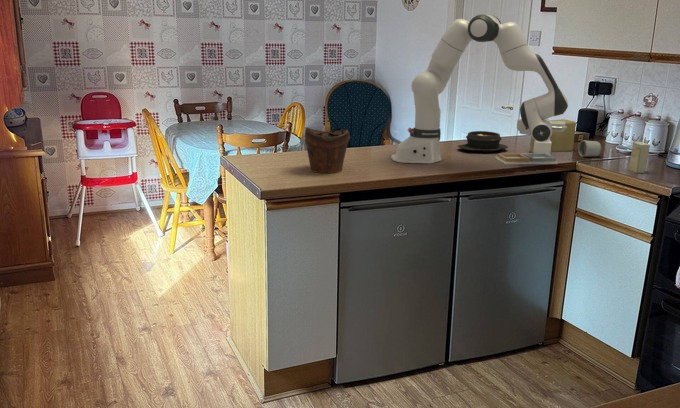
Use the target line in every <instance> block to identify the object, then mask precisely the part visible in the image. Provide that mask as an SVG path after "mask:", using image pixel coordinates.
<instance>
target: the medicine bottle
mask: <svg viewBox="0 0 680 408" xmlns="http://www.w3.org/2000/svg"><path fill="white" fill-rule="evenodd" d="M551 148H552V142H551V141H550V138H549V139H548V140H547V141H544V142H538V141H534V151H533V152H532V153H547V154H549V155H551V154H552V152H551ZM551 156H552V155H551Z"/></svg>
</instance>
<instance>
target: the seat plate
mask: <svg viewBox="0 0 680 408" xmlns="http://www.w3.org/2000/svg"><path fill="white" fill-rule="evenodd" d="M494 158H495V159H496V160H498V161H499V162H500V163H502V164H504V165H559V164H558V163H559V162H558V161H557V157H555V156H553V155H549V154H547V153H533V152H530V153H529V152H528V153H527V152H526V153H525V152H524V153H521V152H517V153H516V152H514V153H510V152H509V153H507V152H506V153H505V152H504V153H497V154H496V156H495V157H494Z"/></svg>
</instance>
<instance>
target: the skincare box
mask: <svg viewBox="0 0 680 408" xmlns="http://www.w3.org/2000/svg"><path fill="white" fill-rule="evenodd" d="M650 148H651V144H649V143H646V142H643V141H633V142H632V147H631V155H630V160H629V165H628V170H629V171H631V172H633V173H636V174H646V170H647V164H648V159H649V155H650Z"/></svg>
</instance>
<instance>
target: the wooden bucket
mask: <svg viewBox="0 0 680 408" xmlns="http://www.w3.org/2000/svg"><path fill="white" fill-rule="evenodd" d="M350 136H351V135H350V132H349V131H348V129H343V128H341V127H337V128H335V129H333V130H331V131H326V130H319V129H313V128H310V127H305V130H304V143H305V145H306V151H307V156H308V160H309V161H308V162H309V166H310V167H309V168H310V170H311V171H312V172H314V173H319V174H334V173H338V172H341V171H342V170H343V166H344V162H345V156H346V153H347V147H348V144H349V141H350V140H351V137H350Z"/></svg>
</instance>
